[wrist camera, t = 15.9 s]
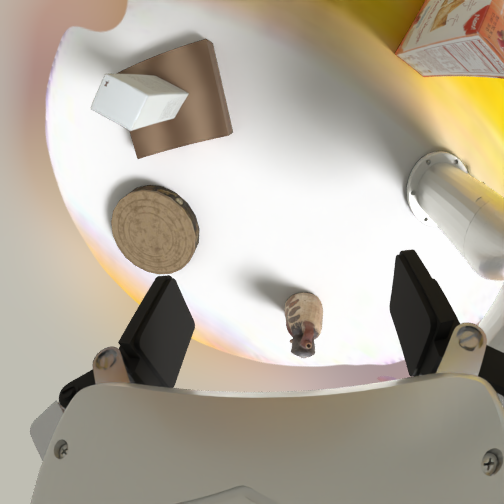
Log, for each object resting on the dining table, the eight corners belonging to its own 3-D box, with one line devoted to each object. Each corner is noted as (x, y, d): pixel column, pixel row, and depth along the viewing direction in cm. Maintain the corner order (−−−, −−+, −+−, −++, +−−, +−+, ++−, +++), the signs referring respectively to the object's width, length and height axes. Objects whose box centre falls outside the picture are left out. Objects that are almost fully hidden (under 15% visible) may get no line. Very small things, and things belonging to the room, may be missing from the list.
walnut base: (213, 43, 30) (206, 38, 26) (233, 131, 37) (228, 135, 33) (129, 74, 32) (115, 73, 29) (149, 153, 39) (137, 159, 36)
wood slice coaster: (106, 201, 45) (97, 208, 42) (176, 170, 40) (169, 176, 38) (144, 271, 52) (137, 280, 50) (214, 255, 48) (210, 264, 45)
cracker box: (423, -4, 19) (502, -40, 1) (453, 21, 20) (541, 5, 2) (390, 53, 26) (477, 30, 9) (423, 78, 27) (520, 83, 10)
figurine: (279, 313, 53) (276, 363, 43) (292, 287, 49) (292, 338, 39) (312, 322, 53) (315, 371, 43) (328, 297, 50) (334, 347, 39)
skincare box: (141, 101, 31) (88, 108, 21) (155, 75, 29) (104, 71, 19) (175, 120, 33) (129, 132, 22) (191, 93, 31) (149, 93, 20)
